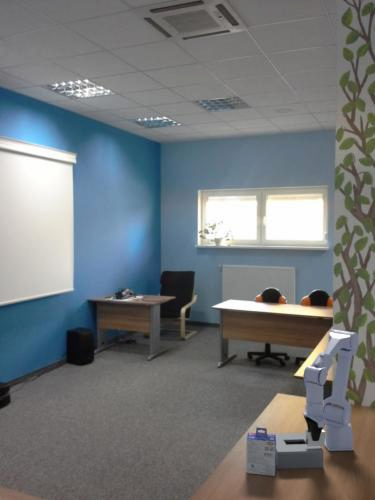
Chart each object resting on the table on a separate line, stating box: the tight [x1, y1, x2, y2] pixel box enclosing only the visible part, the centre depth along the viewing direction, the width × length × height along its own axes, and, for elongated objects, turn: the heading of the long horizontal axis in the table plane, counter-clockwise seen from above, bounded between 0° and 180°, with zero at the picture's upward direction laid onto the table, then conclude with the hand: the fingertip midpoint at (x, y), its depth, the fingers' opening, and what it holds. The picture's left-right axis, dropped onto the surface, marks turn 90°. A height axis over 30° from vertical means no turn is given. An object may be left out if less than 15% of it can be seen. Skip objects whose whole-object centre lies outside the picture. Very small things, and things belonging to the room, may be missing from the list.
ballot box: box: [272, 432, 324, 470], centre depth 169 cm, size 16×14×6 cm
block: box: [305, 428, 326, 447], centre depth 164 cm, size 6×2×5 cm, turn 94°
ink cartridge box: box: [246, 427, 277, 477], centre depth 160 cm, size 10×6×14 cm, turn 78°
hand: (314, 438), depth 164 cm, fingers closed on block, 2 cm apart
